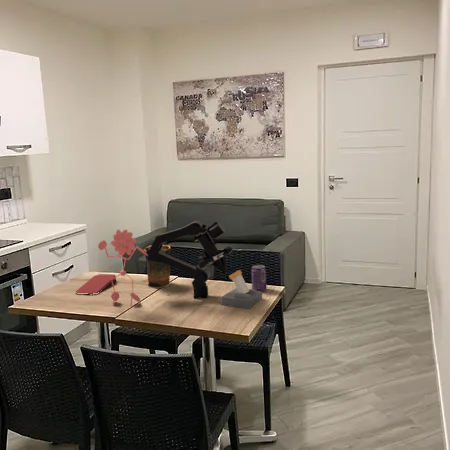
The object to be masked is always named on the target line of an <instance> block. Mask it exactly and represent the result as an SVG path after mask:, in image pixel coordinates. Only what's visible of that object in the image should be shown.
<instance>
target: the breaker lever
mask: <svg viewBox="0 0 450 450" xmlns="http://www.w3.org/2000/svg"><path fill="white" fill-rule="evenodd" d="M242 274H243V272H242V270H241V269H239V270H236V271H235V272H233V273H231V274H230V275H228V278H229V279H230V280H232V282H233V284H234V286H235V288H237V290H238V292H239V293H243V294H245V293H247V292H248V291H249V289H250V288H249V286H248V285H247V283H246V281H245V279H244V278H243V275H242Z"/></svg>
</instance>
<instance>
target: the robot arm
mask: <svg viewBox="0 0 450 450" xmlns="http://www.w3.org/2000/svg"><path fill="white" fill-rule="evenodd" d="M225 233H226V228H225V227H224V226H223V224H221V223H220V222H219V221H218V220H216V221H214V222H213V223H212V224H211V225H207V224H205V223H203V222H202V221H199V220H195V221H194V220H193V222H191V223H189V224H187V225H185V226H182V227H180V228H177V229H173V230H170V231H167V232H164V233H159V234H158V235H156V236H155V239H154V241H153V242H152V244H151V245H150V246H151V247H150V249H149V250H148V251H147V252H146V253H147V255H148V256H147V255H146V257H145V259H146V258H147V259H148V260H149V261H153V262H159V263H164V264H167V265H169V266H170V268H171V267H172V268H174V269H176V270H178V271H181V272H183V273H186V274H188V275H189V276H191V278H192V279H193V280H192V281H191V284H192V287H193V299H206V298H208V296H209V287H208V286H209V285H207V281H208V279H209V278H210V276H211V271H210V269H209V268H207V265H208V264H209V266H210V267H211V266H213V267H215V268H217V269H219V271H221V272H222V273H223V274H226V273H227V272H228V271H227V264H226V257H227V256H228V255H229V254H231V253H232V252H233V251H234V249H233V248H232V247H231V246H227V247H225V248H223V249H222V250H221V249H218V247H217V244H218V243H217V241H215V242H214V240H216V239H218V238H219V237H221V236H223V235H224V234H225ZM184 236H193V240H192V241H193V242H198V243H199V244H200V246H201V247H202V254H203V255H202V256H201V255H200V256H198V257H197V261H198V264H197V265H193V264H190V263H188V262H186V261H183V260H181V259H178V258H176V257H174V256H171V255H170V254H169V255H167V254H166V253H165V252H164V251H163V250H161V248H162V246H163V245H164V243H165V242H168V241H171V240H176V239H177V238H181V237H184ZM213 239H214V240H213ZM147 259H146V260H147Z"/></svg>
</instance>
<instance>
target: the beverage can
mask: <svg viewBox="0 0 450 450" xmlns="http://www.w3.org/2000/svg"><path fill="white" fill-rule="evenodd" d="M251 289H252V290H256V291H261V292H263V291H266V290H267V270H266V266H265V265H263V264H255V265H252V266H251Z"/></svg>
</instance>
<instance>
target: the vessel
mask: <svg viewBox="0 0 450 450" xmlns="http://www.w3.org/2000/svg"><path fill="white" fill-rule="evenodd" d="M151 246H152V245H149V246H147V247H145V248H144V249H143V250H144V251H145V252H147V251H148V250H149V249H150V247H151ZM161 250H163V251H164V252H165V253H166V254H167V255H169V256H170V253H171V252H172V251H171V250H172V249H171V246H170V245H165V244H163V246H162V248H161ZM143 255H144V256H145V259H146V272H147V283H148V284H147V285H148V286H149V287H148V286H147V287H148V288H152V289H161V288H166V287H168V286H170V285H171V284H172V282H171V280H170V277H171V266H169V265H167V264H164V263H159V262H153V261H149V260H148V259H147V258H146V255H145V254H143Z"/></svg>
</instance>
